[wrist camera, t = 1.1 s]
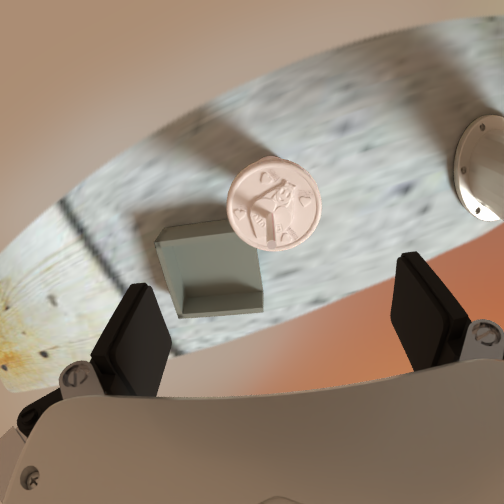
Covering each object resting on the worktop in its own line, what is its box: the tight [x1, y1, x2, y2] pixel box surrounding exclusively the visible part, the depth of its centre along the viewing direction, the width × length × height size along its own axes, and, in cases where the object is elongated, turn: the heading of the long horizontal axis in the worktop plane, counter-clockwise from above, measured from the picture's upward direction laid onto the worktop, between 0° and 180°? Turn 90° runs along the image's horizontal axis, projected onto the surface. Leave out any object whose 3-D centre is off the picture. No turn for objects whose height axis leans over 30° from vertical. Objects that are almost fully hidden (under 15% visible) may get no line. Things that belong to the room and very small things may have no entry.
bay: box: [154, 219, 263, 319], centre depth 32 cm, size 9×9×4 cm
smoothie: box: [227, 156, 322, 251], centre depth 23 cm, size 6×6×14 cm
